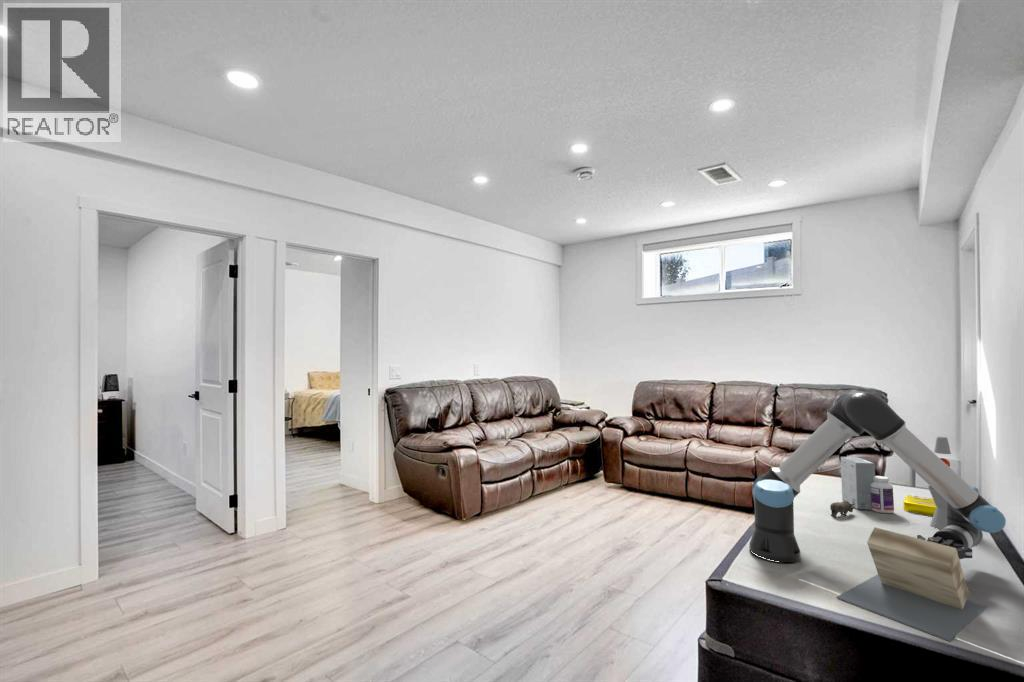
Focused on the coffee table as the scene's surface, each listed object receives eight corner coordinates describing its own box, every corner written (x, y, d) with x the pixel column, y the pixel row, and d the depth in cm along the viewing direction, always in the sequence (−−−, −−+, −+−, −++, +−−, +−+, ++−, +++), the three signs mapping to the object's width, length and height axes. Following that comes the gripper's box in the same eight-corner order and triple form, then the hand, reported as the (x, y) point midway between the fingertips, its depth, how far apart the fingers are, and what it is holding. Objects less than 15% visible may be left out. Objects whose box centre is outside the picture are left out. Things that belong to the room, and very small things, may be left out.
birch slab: (888, 567, 144) (874, 526, 140) (969, 591, 129) (956, 547, 125) (881, 582, 141) (866, 542, 137) (962, 610, 126) (949, 565, 122)
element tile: (903, 511, 208) (902, 500, 208) (907, 504, 219) (907, 493, 219) (950, 519, 198) (949, 508, 198) (952, 511, 208) (951, 500, 209)
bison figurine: (859, 515, 203) (859, 500, 203) (836, 519, 198) (836, 504, 198) (849, 512, 206) (849, 498, 207) (827, 516, 202) (826, 501, 202)
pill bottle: (893, 510, 208) (891, 476, 209) (895, 515, 202) (893, 480, 202) (869, 507, 213) (868, 474, 213) (871, 512, 206) (869, 478, 207)
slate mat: (881, 573, 148) (881, 572, 148) (988, 608, 128) (988, 606, 128) (836, 598, 133) (836, 596, 133) (950, 641, 113) (950, 640, 113)
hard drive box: (877, 510, 207) (875, 463, 208) (857, 509, 209) (855, 463, 210) (860, 500, 223) (858, 456, 223) (841, 499, 224) (839, 456, 225)
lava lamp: (958, 533, 181) (955, 439, 182) (927, 527, 188) (924, 436, 189) (962, 528, 187) (959, 437, 188) (931, 522, 194) (929, 434, 195)
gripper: (981, 561, 142) (954, 581, 129) (925, 546, 153) (895, 563, 140) (981, 535, 143) (954, 552, 130) (925, 522, 153) (895, 536, 141)
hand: (923, 558), depth 135 cm, fingers closed
